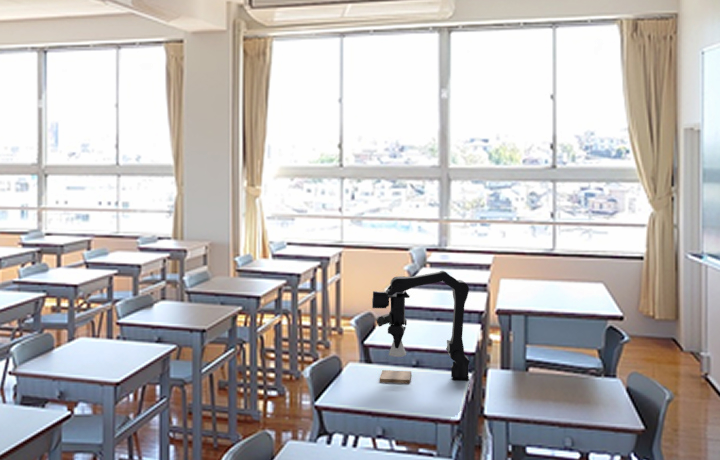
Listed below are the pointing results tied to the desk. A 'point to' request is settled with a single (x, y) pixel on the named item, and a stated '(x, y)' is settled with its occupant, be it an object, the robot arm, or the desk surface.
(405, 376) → the flat brown panel
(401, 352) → the flask
